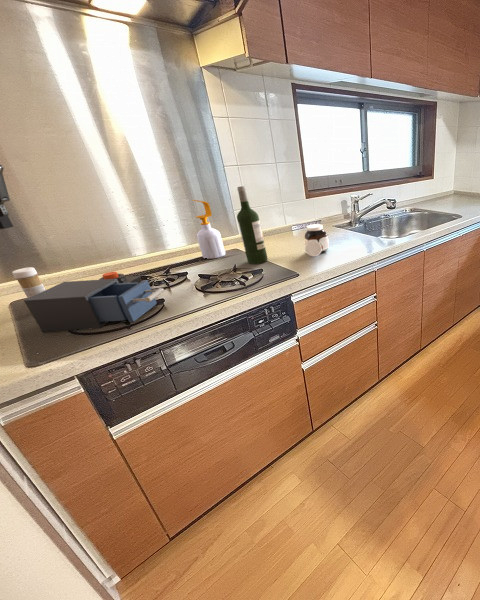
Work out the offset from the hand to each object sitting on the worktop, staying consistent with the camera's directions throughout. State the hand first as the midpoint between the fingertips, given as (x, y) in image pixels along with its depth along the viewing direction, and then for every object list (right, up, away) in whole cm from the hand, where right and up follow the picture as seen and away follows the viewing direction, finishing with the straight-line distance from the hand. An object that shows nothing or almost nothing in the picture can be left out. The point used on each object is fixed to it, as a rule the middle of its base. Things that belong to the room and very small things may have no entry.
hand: (6, 227), depth 94 cm
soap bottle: (+31, -1, +51) cm, 60 cm away
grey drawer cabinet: (+24, -26, 0) cm, 36 cm away
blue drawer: (+36, -25, +1) cm, 43 cm away
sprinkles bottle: (+5, -24, +6) cm, 26 cm away
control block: (+13, -17, +21) cm, 30 cm away
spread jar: (+77, 0, +52) cm, 93 cm away
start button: (+13, -13, +19) cm, 27 cm away
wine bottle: (+54, -5, +43) cm, 69 cm away
